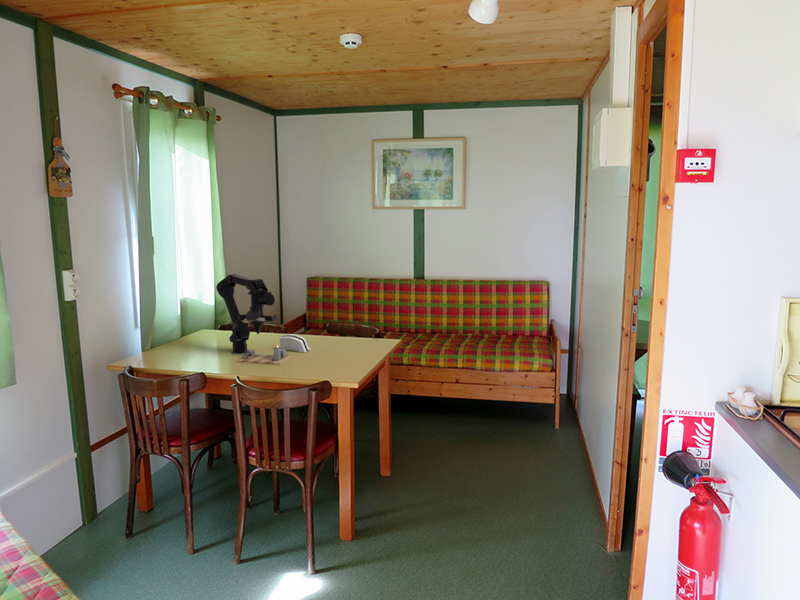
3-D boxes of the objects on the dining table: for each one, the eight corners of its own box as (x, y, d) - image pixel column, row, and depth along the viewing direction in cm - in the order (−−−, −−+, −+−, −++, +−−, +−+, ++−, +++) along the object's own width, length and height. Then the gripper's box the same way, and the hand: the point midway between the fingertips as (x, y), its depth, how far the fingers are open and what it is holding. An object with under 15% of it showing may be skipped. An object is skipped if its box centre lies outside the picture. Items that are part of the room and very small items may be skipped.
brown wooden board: (237, 362, 278) (237, 359, 278) (251, 355, 292) (251, 352, 291) (279, 365, 274) (279, 362, 273) (290, 357, 287) (290, 355, 287)
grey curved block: (311, 350, 302) (306, 334, 297) (306, 355, 298) (301, 339, 294) (286, 347, 310) (282, 331, 305) (281, 351, 306) (276, 336, 302)
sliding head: (272, 360, 277) (272, 345, 276) (279, 355, 285) (279, 342, 284) (279, 360, 276) (279, 346, 275) (286, 356, 284) (285, 342, 283)
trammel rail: (241, 358, 281) (241, 353, 280) (249, 354, 288) (248, 349, 288) (279, 361, 276) (279, 356, 276) (286, 356, 284) (286, 351, 284)
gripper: (232, 305, 279) (233, 336, 282) (267, 307, 276) (268, 338, 278) (243, 302, 290) (244, 331, 293) (276, 303, 286) (277, 333, 289)
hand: (258, 333), depth 288 cm, fingers closed
